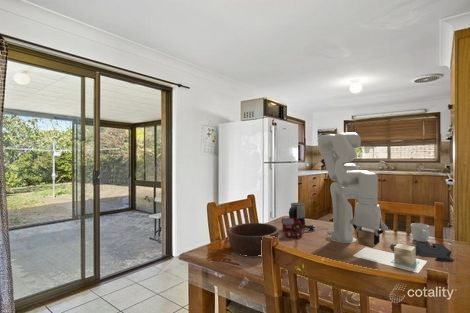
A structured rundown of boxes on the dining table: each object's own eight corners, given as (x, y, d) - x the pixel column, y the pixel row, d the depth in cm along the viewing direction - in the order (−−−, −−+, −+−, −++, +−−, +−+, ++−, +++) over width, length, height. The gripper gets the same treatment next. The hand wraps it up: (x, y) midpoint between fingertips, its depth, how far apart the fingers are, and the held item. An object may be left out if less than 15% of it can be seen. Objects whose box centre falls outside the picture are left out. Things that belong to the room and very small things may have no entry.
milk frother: (292, 224, 171) (291, 202, 171) (317, 226, 165) (316, 203, 165) (287, 229, 158) (287, 205, 158) (314, 232, 152) (313, 207, 152)
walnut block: (358, 244, 111) (358, 230, 111) (363, 240, 115) (363, 227, 115) (372, 248, 107) (372, 233, 107) (377, 244, 111) (377, 230, 111)
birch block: (394, 261, 104) (394, 247, 104) (398, 257, 108) (398, 243, 108) (412, 266, 100) (411, 250, 100) (415, 261, 104) (415, 246, 104)
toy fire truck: (305, 238, 141) (304, 219, 141) (282, 238, 142) (282, 219, 142) (303, 234, 148) (302, 216, 148) (281, 234, 149) (280, 216, 149)
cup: (435, 245, 124) (434, 229, 124) (415, 244, 127) (415, 228, 127) (426, 238, 134) (425, 223, 135) (408, 237, 137) (408, 222, 137)
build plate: (352, 258, 112) (352, 255, 112) (365, 249, 122) (365, 246, 122) (418, 275, 94) (418, 272, 94) (427, 263, 104) (427, 260, 104)
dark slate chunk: (386, 247, 125) (386, 237, 125) (439, 250, 119) (438, 240, 119) (398, 259, 110) (398, 248, 110) (459, 263, 105) (458, 251, 105)
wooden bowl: (289, 249, 125) (288, 228, 125) (255, 265, 108) (254, 240, 108) (252, 238, 143) (251, 220, 143) (217, 250, 126) (217, 229, 126)
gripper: (344, 199, 114) (344, 239, 115) (387, 205, 101) (387, 250, 102) (351, 197, 119) (351, 235, 120) (393, 202, 107) (393, 244, 107)
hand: (368, 241), depth 111 cm, fingers closed on walnut block, 6 cm apart
